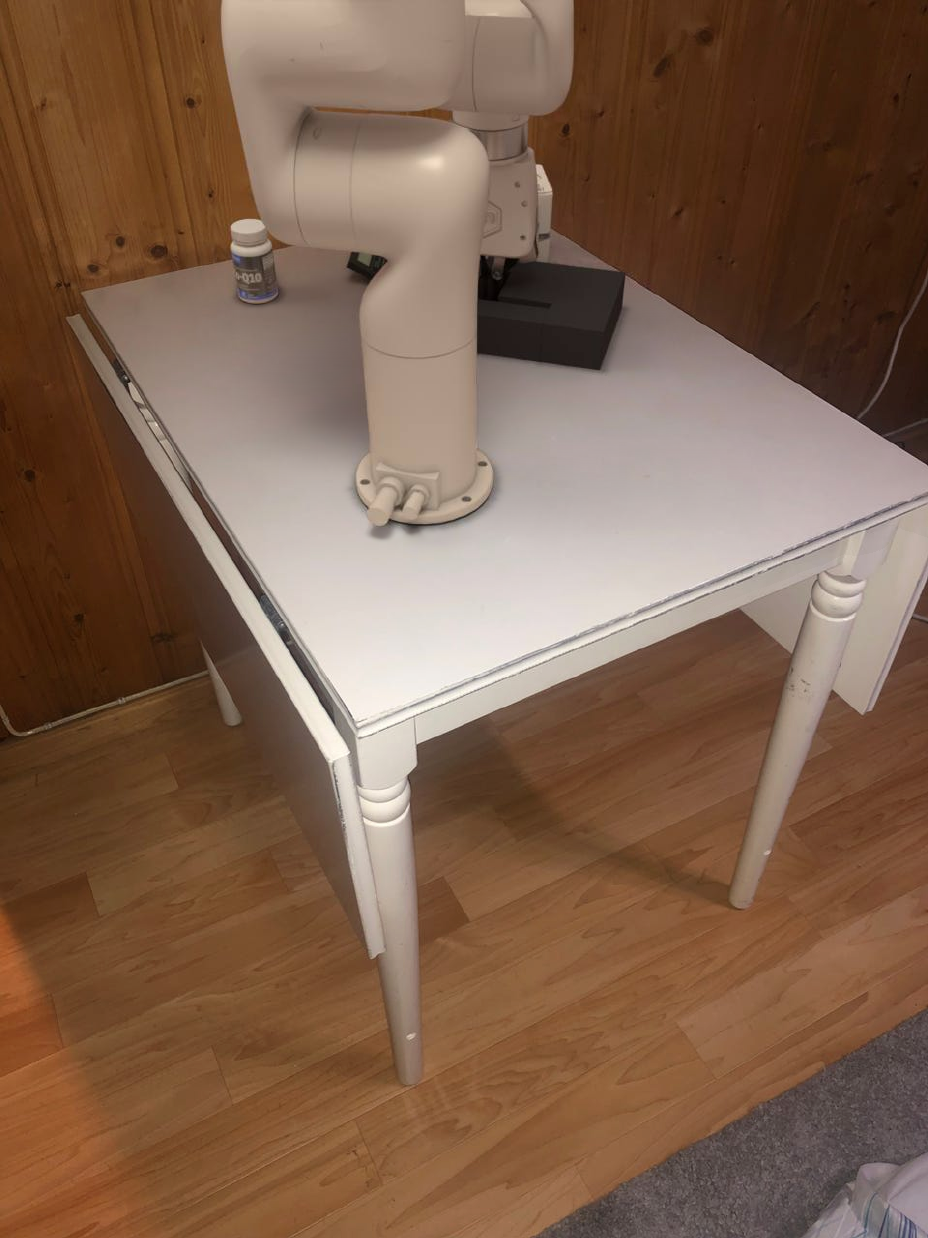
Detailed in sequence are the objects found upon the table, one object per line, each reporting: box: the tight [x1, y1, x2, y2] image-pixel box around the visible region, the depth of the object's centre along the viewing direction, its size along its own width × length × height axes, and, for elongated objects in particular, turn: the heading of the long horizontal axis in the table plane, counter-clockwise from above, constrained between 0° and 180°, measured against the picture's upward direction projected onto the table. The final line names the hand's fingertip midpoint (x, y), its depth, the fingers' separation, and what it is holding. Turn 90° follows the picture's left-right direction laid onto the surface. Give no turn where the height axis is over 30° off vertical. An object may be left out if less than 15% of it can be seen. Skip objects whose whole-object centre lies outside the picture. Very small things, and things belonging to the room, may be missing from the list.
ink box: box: [536, 164, 554, 263], centre depth 119 cm, size 9×5×12 cm, turn 6°
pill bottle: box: [230, 218, 279, 305], centre depth 117 cm, size 5×5×8 cm
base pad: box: [477, 256, 627, 371], centre depth 113 cm, size 16×14×4 cm
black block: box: [498, 272, 563, 308], centre depth 113 cm, size 6×6×4 cm
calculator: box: [346, 252, 388, 281], centre depth 124 cm, size 9×12×3 cm
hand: (488, 306), depth 114 cm, fingers closed
